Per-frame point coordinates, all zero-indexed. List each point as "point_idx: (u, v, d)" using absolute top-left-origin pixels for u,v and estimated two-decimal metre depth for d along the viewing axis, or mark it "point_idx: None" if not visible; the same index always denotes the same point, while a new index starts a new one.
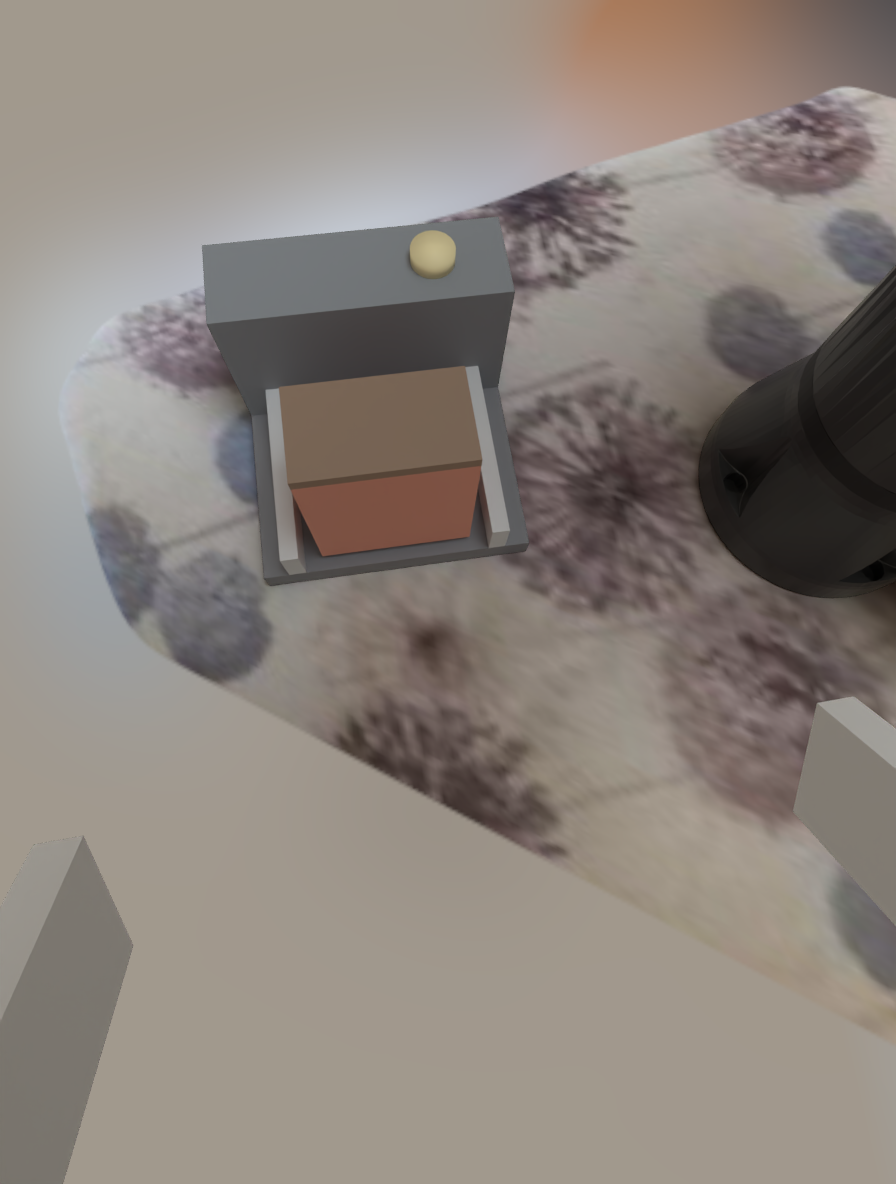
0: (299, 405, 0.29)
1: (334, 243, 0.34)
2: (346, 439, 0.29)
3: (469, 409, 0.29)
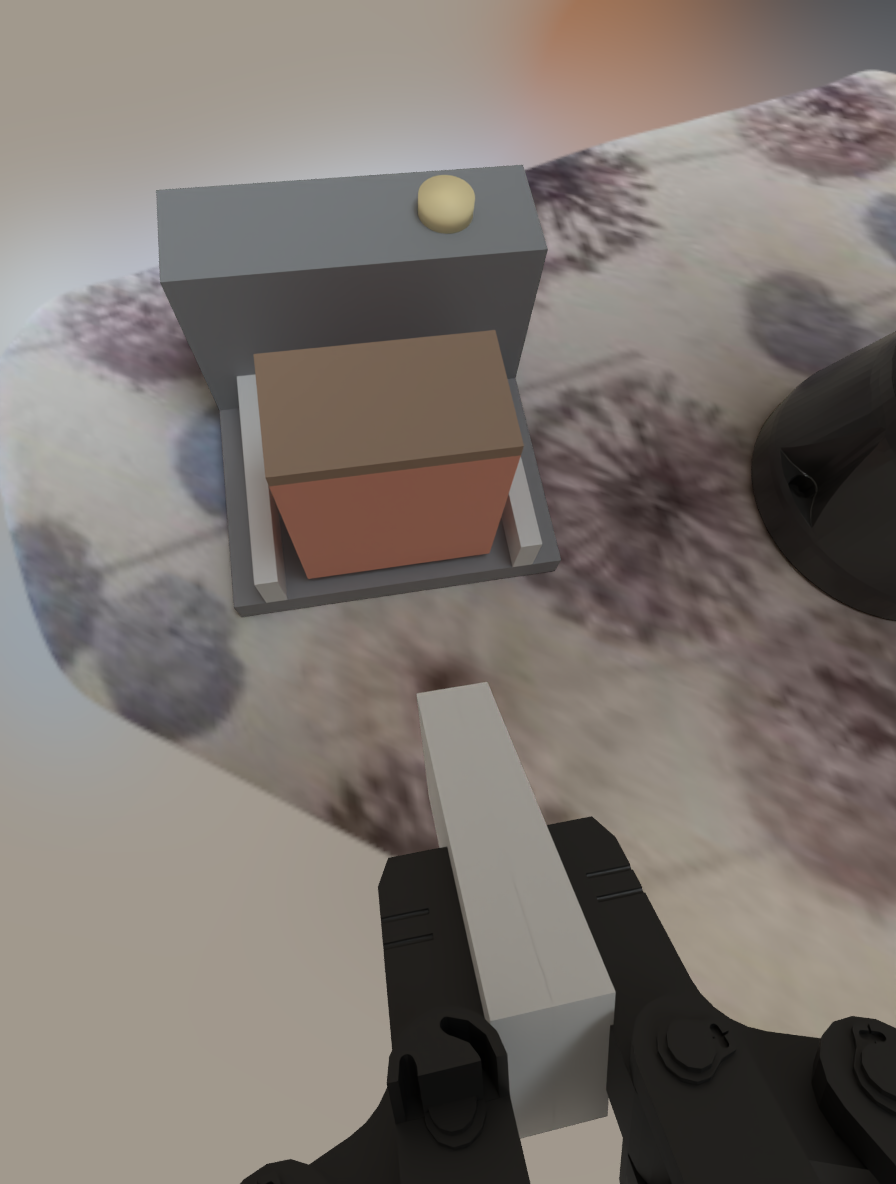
0: (281, 377, 0.22)
1: (323, 190, 0.27)
2: (344, 420, 0.22)
3: (503, 383, 0.23)
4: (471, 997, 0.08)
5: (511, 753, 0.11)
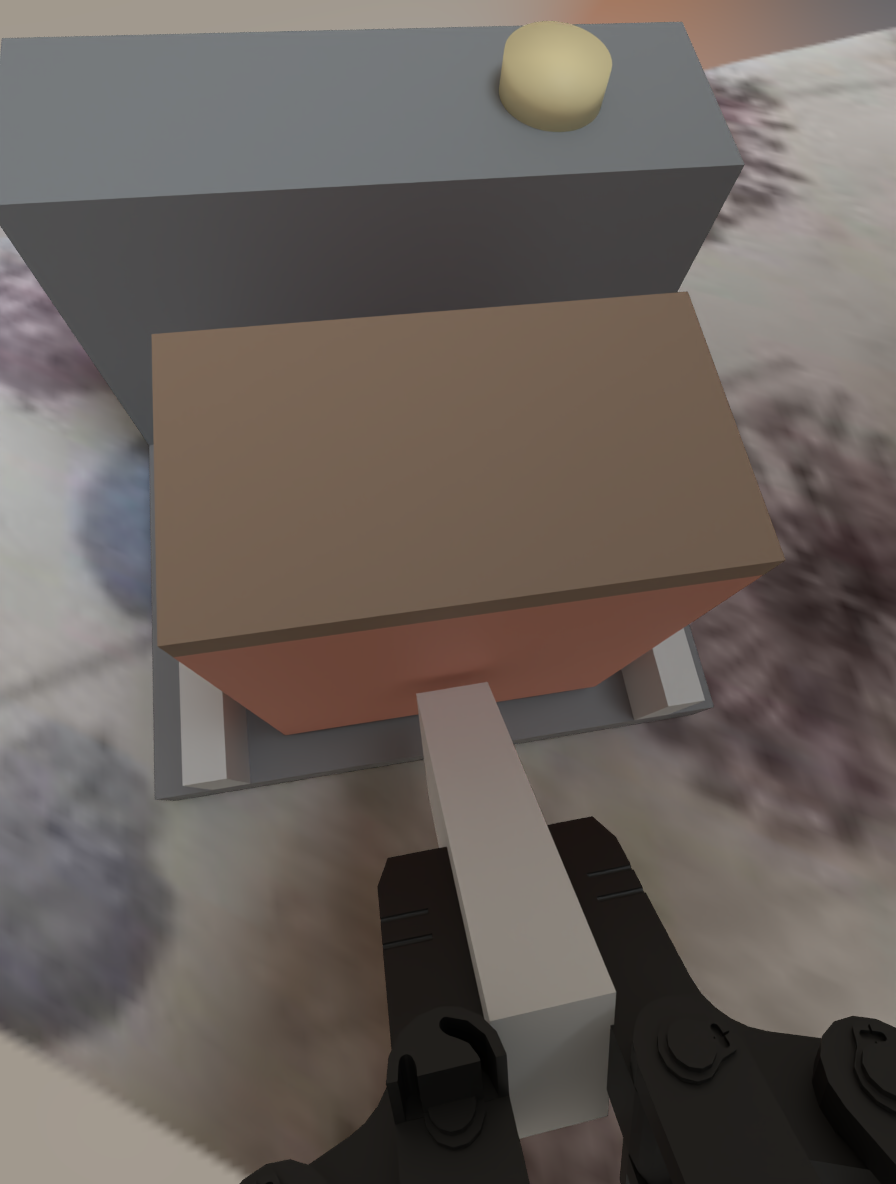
0: (212, 388, 0.09)
1: (322, 51, 0.15)
2: (359, 494, 0.09)
3: (719, 409, 0.10)
4: (471, 997, 0.08)
5: (511, 753, 0.11)
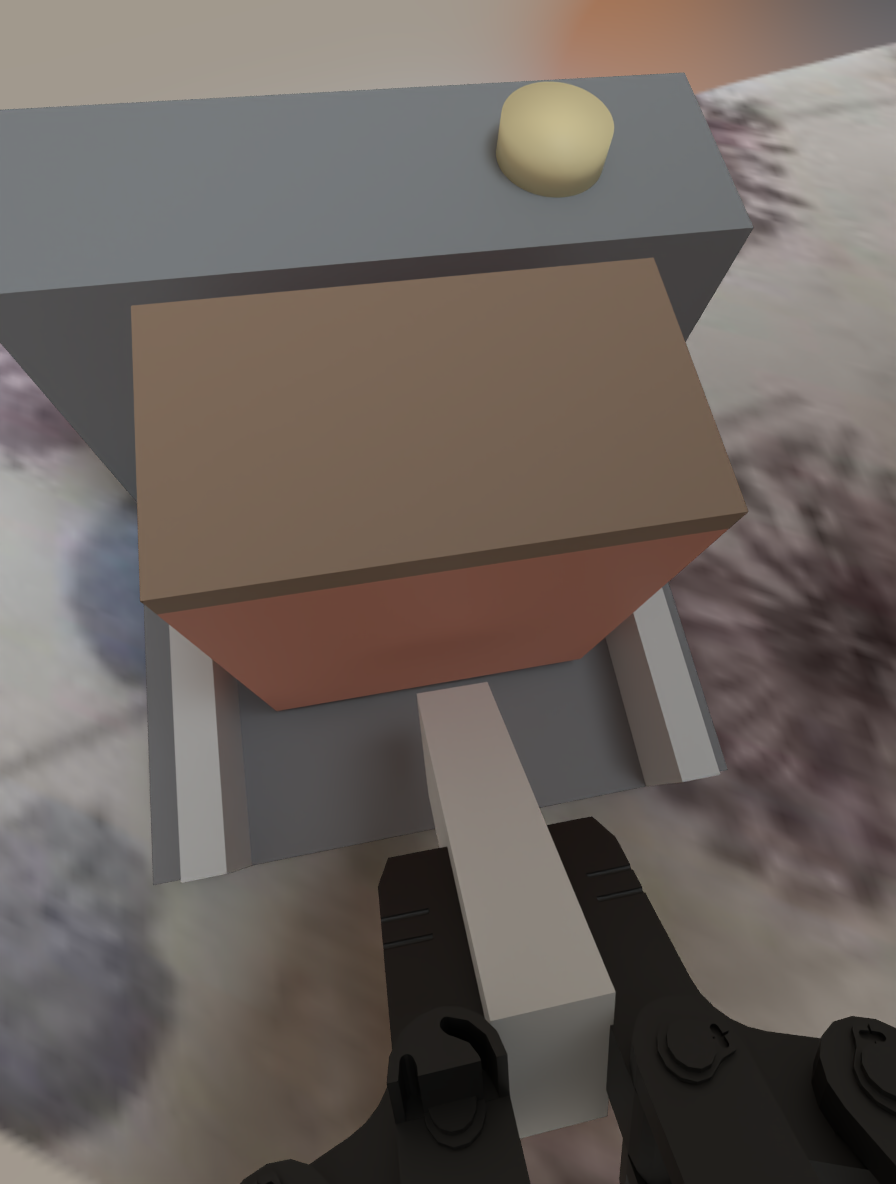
0: (190, 356, 0.10)
1: (311, 115, 0.14)
2: (334, 455, 0.09)
3: (684, 369, 0.10)
4: (471, 997, 0.08)
5: (511, 753, 0.11)
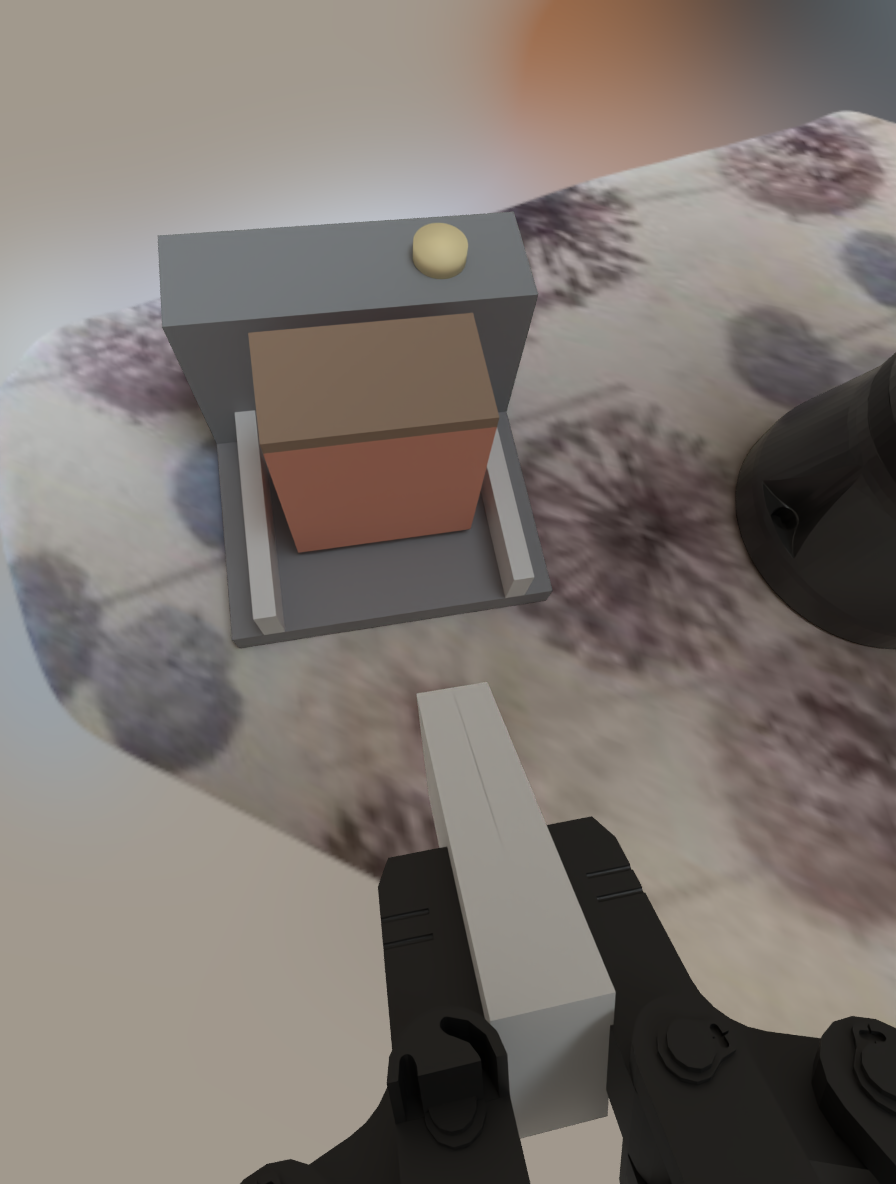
0: (274, 354, 0.24)
1: (320, 236, 0.28)
2: (332, 393, 0.23)
3: (480, 361, 0.24)
4: (471, 997, 0.08)
5: (511, 753, 0.11)
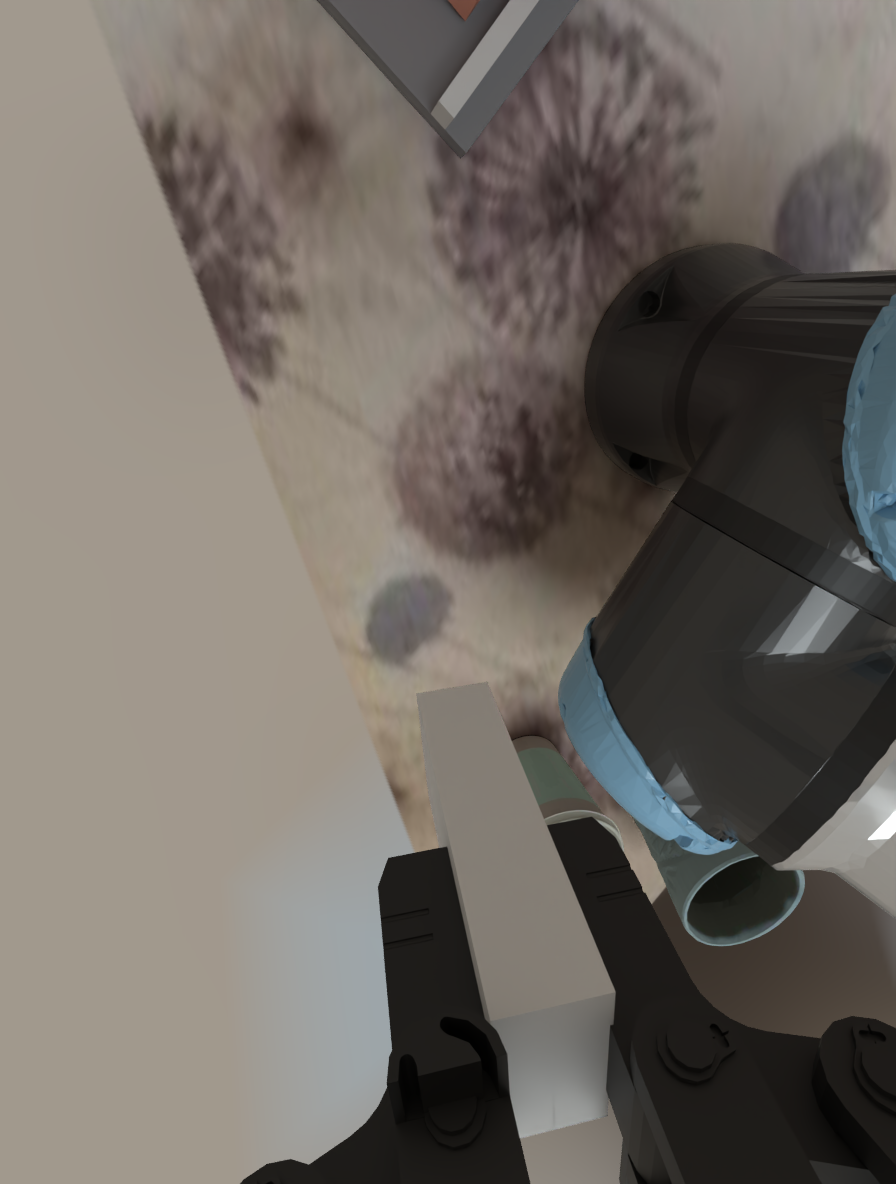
0: None
1: None
2: None
3: None
4: (471, 997, 0.08)
5: (511, 753, 0.11)
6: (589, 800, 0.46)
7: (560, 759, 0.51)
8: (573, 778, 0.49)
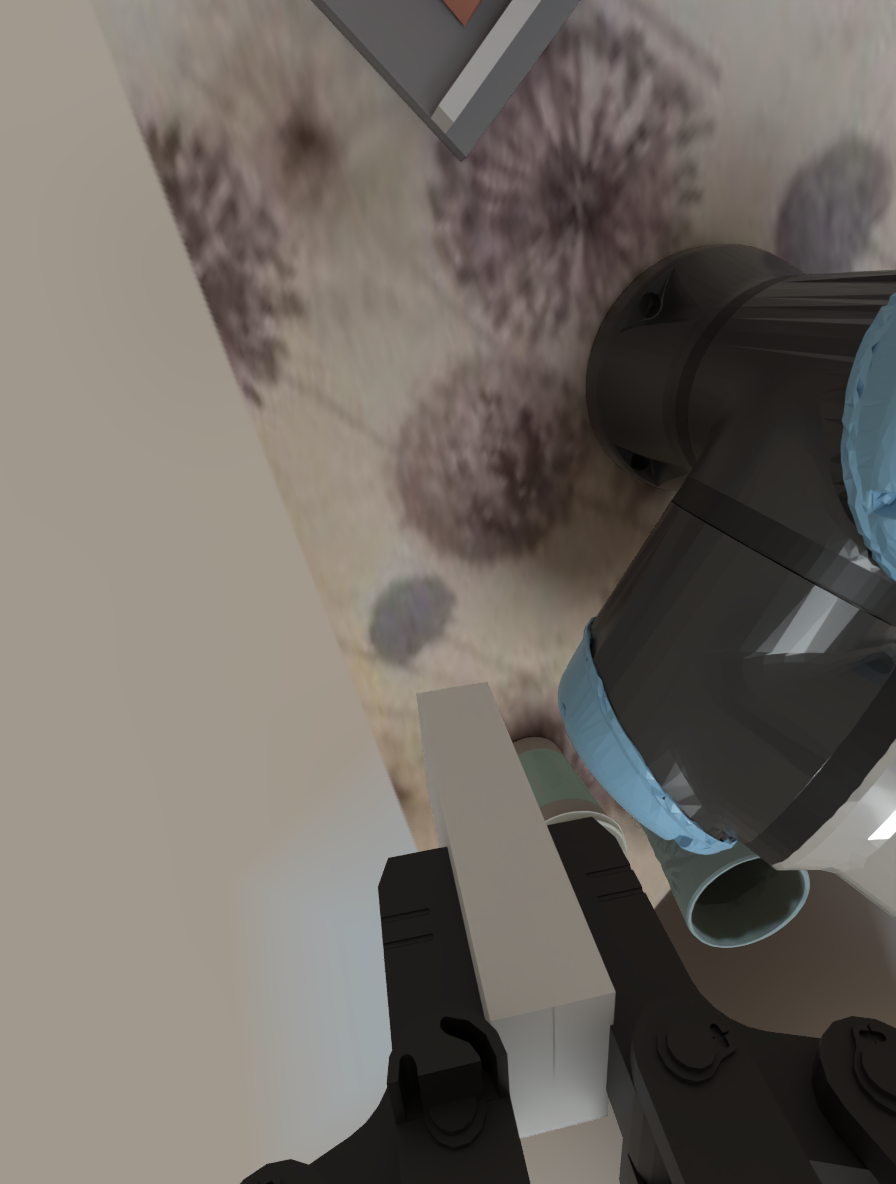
0: None
1: None
2: None
3: None
4: (471, 997, 0.08)
5: (511, 753, 0.11)
6: (592, 801, 0.46)
7: (563, 760, 0.51)
8: (576, 779, 0.49)
